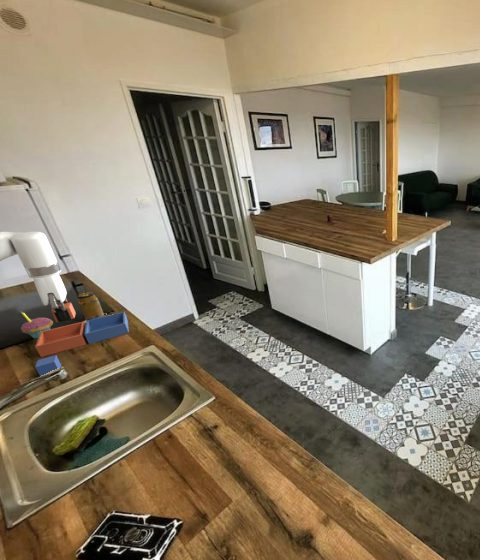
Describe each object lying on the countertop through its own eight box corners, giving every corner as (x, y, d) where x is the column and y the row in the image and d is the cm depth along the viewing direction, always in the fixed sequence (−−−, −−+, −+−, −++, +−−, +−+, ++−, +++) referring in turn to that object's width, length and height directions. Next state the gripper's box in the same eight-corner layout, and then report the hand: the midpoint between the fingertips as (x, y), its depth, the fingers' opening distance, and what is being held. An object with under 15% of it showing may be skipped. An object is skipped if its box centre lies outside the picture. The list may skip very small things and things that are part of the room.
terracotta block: (56, 322, 106) (51, 311, 105) (58, 316, 110) (53, 305, 108) (74, 318, 109) (69, 307, 107) (75, 313, 112) (70, 302, 110)
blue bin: (88, 343, 119) (84, 334, 117) (90, 329, 128) (86, 320, 126) (128, 332, 126) (125, 323, 125) (127, 320, 135) (124, 311, 133)
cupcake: (34, 343, 119) (19, 316, 114) (21, 338, 122) (6, 312, 117) (62, 331, 127) (49, 305, 122) (49, 327, 129) (36, 302, 124)
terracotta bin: (40, 357, 112) (35, 346, 110) (46, 341, 120) (40, 331, 119) (86, 344, 119) (81, 334, 117) (88, 330, 127) (83, 321, 126)
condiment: (91, 315, 138) (81, 291, 133) (113, 313, 140) (104, 289, 135) (81, 323, 132) (69, 299, 127) (104, 321, 134) (94, 297, 129)
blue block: (41, 378, 102) (34, 367, 100) (43, 370, 105) (37, 360, 104) (60, 372, 105) (54, 361, 103) (61, 365, 108) (56, 355, 106)
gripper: (32, 264, 106) (54, 310, 113) (21, 281, 94) (47, 331, 101) (63, 260, 110) (82, 304, 117) (55, 275, 98) (78, 324, 105)
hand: (65, 316), depth 109 cm, fingers closed on terracotta block, 4 cm apart
